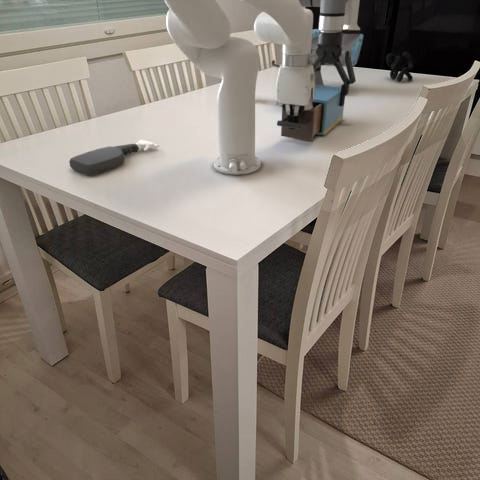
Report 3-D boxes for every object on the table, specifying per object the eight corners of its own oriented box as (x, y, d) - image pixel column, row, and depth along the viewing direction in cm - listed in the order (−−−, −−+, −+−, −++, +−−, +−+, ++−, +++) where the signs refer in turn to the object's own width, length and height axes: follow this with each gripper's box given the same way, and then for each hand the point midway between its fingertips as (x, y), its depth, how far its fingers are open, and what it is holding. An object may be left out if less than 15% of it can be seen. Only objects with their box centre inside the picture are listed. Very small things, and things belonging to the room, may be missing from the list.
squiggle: (400, 92, 202) (376, 71, 205) (417, 76, 202) (392, 56, 205) (405, 81, 191) (380, 59, 194) (423, 64, 191) (397, 42, 194)
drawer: (304, 147, 127) (306, 116, 122) (272, 142, 131) (273, 112, 126) (331, 125, 144) (333, 97, 140) (302, 120, 148) (304, 94, 144)
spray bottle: (67, 168, 120) (139, 144, 136) (91, 178, 114) (163, 151, 130) (65, 157, 118) (137, 134, 134) (89, 167, 112) (162, 142, 128)
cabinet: (323, 135, 138) (327, 100, 133) (290, 130, 143) (292, 96, 137) (342, 119, 152) (346, 87, 147) (311, 115, 157) (314, 84, 151)
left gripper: (327, 60, 119) (322, 127, 129) (276, 56, 125) (275, 121, 135) (317, 65, 113) (312, 135, 123) (264, 61, 120) (264, 128, 129)
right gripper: (372, 31, 135) (362, 104, 146) (299, 28, 145) (296, 96, 156) (365, 34, 129) (356, 110, 141) (290, 30, 139) (287, 101, 151)
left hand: (293, 127), depth 129 cm, fingers closed
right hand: (324, 103), depth 149 cm, fingers closed on cabinet, 11 cm apart
